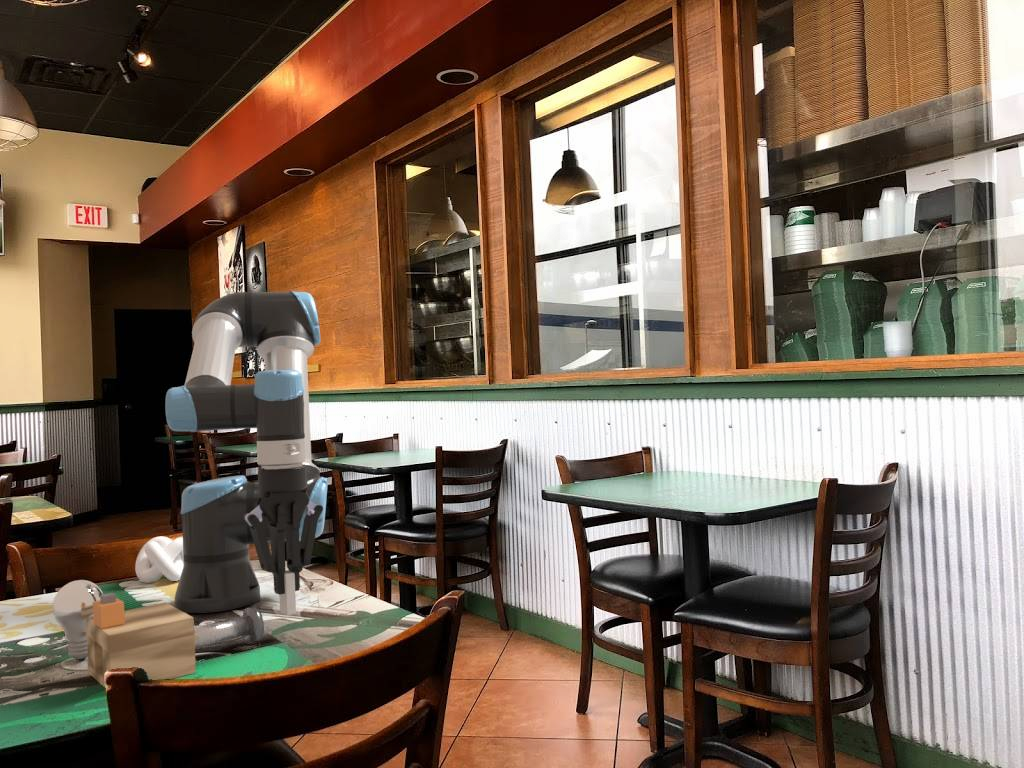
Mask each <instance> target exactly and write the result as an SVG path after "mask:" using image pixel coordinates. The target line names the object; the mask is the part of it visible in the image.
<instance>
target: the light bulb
mask: <svg viewBox="0 0 1024 768" xmlns="http://www.w3.org/2000/svg"><path fill="white" fill-rule="evenodd" d="M101 589H102V588H101V587H99V586H98V585H97V584H96V583H94V582H92V581H90V580H88V579H87V580H85V579H79V580H73V581H70V582H68V583H66V584H65V585H63V586H62V587H61V588H60V589H59V590H58V591H57V593H56V595H55V596H54V598H53V601H52V607H51V609H52V614H53V616H54V619H55V620H56V622H57V623H58V624H59V625H60V627H61V628H62V630H63V632H64V635H65V638H66V640H67V641H68V644H67V647H68V648H67V650H68V655H69V656H70V657H71V658H72V659H74V660H75V661H77V662H82V661H85V660H87V659H88V649H87V624H86V618H90V617H93V601H99V600H100V595H102V594H104V593H103V591H102V590H101Z"/></svg>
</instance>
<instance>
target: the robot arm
mask: <svg viewBox="0 0 1024 768" xmlns="http://www.w3.org/2000/svg"><path fill="white" fill-rule="evenodd" d="M191 334H192V335H191V337H192V341H193V343H194V345H193V350H192V354H191V358H190V361H189V365H188V370H187V374H186V378H185V382H184V385H181V386H177V387H176V386H175V387H171V388H169V389H168V390H167V392H166V395H165V417H166V418H165V419H166V423H167V426H168V428H169V429H170V430H171V431H174V432H191V433H195V432H205V431H223V430H224V431H225V430H241V429H242V430H243V429H256V434H257V435H256V456H257V458H256V460H257V465H258V466H261V468H259V469H258V470H257V481H254V482H248V479H247V477H246V476H245V475H242V474H241V475H240V474H239V475H234V476H233V475H231V476H226V477H220V478H219V477H218V478H213V479H209V480H206V481H205V480H204V481H201V482H197V483H194V484H191V485H188V486H187V487H186V488H184V489H183V491H182V493H181V506H180V507H181V510H180V515H181V528H182V529H181V531H182V537H183V557H184V565H183V570H182V573H181V577H180V580H179V581H178V584H177V587H176V589H175V590H176V591H175V595H174V607H175V608H177V609H179V610H181V611H182V612H184V613H186V614H188V613H189V614H209V613H219V612H226V611H231V610H235V609H239V608H240V609H241V608H244V607H246V606H250V605H253V604H254V603H257V601H259V600H260V599H261V586H260V583H259V581H258V578H257V576H256V573H255V570H254V568H253V564H252V562H251V559H250V552H249V551H250V550H249V548H250V545H254V547H255V551H256V555H257V558H258V561H259V566H260V568H261V570H262V571H265V572H268V573H271V574H272V575H273V591H274V593H275V594H276V595H278V597H279V612H280V614H282V615H286V616H291V615H295V614H297V604H296V603H297V602H296V597H297V596H296V592H298V591H300V588H301V581H300V580H301V579H300V578H301V577H300V573H301V572H302V571H303V569H304V567H305V566H309V565H310V564H311V563H312V562H311V560H312V556H313V550H314V544H315V539H317V538H318V537H320V536H321V535H322V534H323V532H324V527H325V519H326V508H327V496H328V495H327V494H328V479H327V477H323V476H321V472H320V471H321V469H320V468H319V467H318V466H317V465H316V464H314V463H313V461H312V443H311V424H310V423H311V421H310V418H311V417H310V399H309V398H310V397H309V394H310V393H309V375H308V374H309V372H308V359H309V358H310V357H311V356H312V355H313V354H314V351H315V347H316V346H319V345H320V344H321V330H320V324H319V317H318V310H317V306H316V302H315V299H314V297H313V295H311V293H308V292H306V291H294V290H289V291H252V292H251V291H250V292H249V291H247V292H246V291H238V292H232V293H229V294H226V295H223V296H221V297H219V298H217V299H215V300H214V301H212V302H211V303H209V304H208V305H207V306H206V307H205V308H203V309H202V310H201V311H200V312H199V314H198V315H197V316H196V318H195V320H194V323H193V326H192V331H191ZM244 347H248V348H256V352H257V354H258V356H259V357H260V358H262V359H263V361H264V370H261V371H258V372H256V373H255V376H254V384H250V383H249V384H232V377H233V371H234V370H233V369H234V362H235V355H236V350H238V349H239V348H244ZM269 543H270V545H269ZM285 548H286V549H285ZM285 551H286V552H285ZM286 568H287V569H286Z"/></svg>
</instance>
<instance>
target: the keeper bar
mask: <svg viewBox="0 0 1024 768" xmlns="http://www.w3.org/2000/svg"><path fill="white" fill-rule="evenodd" d="M124 611H125V602H124V601H123V600H121V599H119V598H118V597H117V595H116V593H114V592H108V593H103V594H102V595H100V600H99V601H93V621H94V624H96V625H97V626H98V627H100V628H101V629H103V628H107V627H112V626H117V625H122V624H125V616H124Z"/></svg>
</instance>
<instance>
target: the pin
mask: <svg viewBox="0 0 1024 768" xmlns="http://www.w3.org/2000/svg"><path fill="white" fill-rule="evenodd" d="M264 631H265V624H264V618H263V615H262V612H261V610H260V609H259V607H257V606H251V607H246V608H245V609H244V610H243V613H242V616H238V617H234V618H229V619H225V620H220V621H216V622H211V623H207V624H203V625H202V624H201V625H198V626H194V640H195V649H197V648H201V647H206V646H210V645H213V644H217V643H222V642H226V641H231V640H235V639H239V638H243V637H246V639H247V640H248V641H249V642H250V643H253V642H257V641H260V640H262V639H263V636H264Z"/></svg>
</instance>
